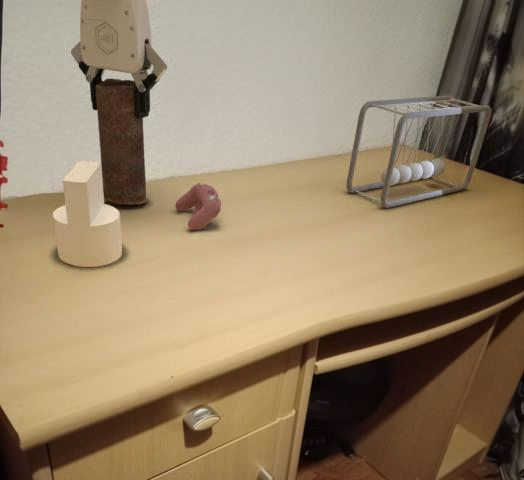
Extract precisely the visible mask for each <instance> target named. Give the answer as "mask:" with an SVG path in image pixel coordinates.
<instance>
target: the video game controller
mask: <svg viewBox="0 0 524 480" xmlns="http://www.w3.org/2000/svg"><path fill="white" fill-rule="evenodd" d="M174 207H175V209H176V211H177V212H187V211H189V210H190V209H192V208H193V210H192V212H193V215H192V216H191V217H190V218H189V220H188V223H187V227H188V229H189V230H191V231H197V230H200V229H203V228H205V227H206V226H207V225H209V223H210V222H212V221H213V219H216V217H218V215H219V214H220V213H221V211H222V200H221V199H219V194H218V191H217V190H216V188H215V187H213V186H212V185H209V184H207V183H201V182H197V184H194V185H193V186H192V187H191V188H190V189H189V190H187V192H186V193H184V194H183V195H182V196H180V197H179V198H178V199H177V200H176V202H175V206H174Z"/></svg>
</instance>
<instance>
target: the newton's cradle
mask: <svg viewBox="0 0 524 480" xmlns="http://www.w3.org/2000/svg"><path fill="white" fill-rule="evenodd" d="M456 102H457V103H460V104H463V106H461V105H456V104H455V103H456ZM440 103H441V104H440ZM429 104H430V105H429ZM433 104H434V105H437V106H440V107H441V108H438V107H435V106H433ZM444 104H447V106H445V105H444ZM416 105H419V106H416ZM421 105H422V106H424V107H425V106H426V107H430V109H426V108H422V107H421ZM402 106H403V107H402ZM404 106H407V108H406V107H404ZM409 106H410V107H414V108H418V109H419V110H413V109H409V108H410V107H409ZM454 106H455V107H454ZM391 107H395V108H394V109H392V108H391ZM397 107H398V108H401V109H404V110H407V111H399V110H397ZM371 108H377V109H381V110H384V111H387V112H391V113H394V119H393V120H394V122H393V130H395V131H392V132H393V133H392V146H391V151H390V155H389V160H388V164H387V167H386V168H384V169H383V170H382V172H381V175H380V180H381V181H378V182H373V183H368V184H363V185H358V186H353V181H354V175H355V170H356V165H357V158H358V154H359V148H360V144H361V138H362V132H363V128H364V122H365V118H366V117H365V116H366V114H367V111H368V110H369V109H371ZM481 112H485V114H484V117H483V121H482V124H481V127H480V131H479V134H478V138H477V140H476V143H475V147H474V150H473V154H472V157H471V160H470V164H469V166H468V169H467V174H466V176H465V180H464V182H463V183H462V184H460V185H457V184H455V183H452V182H450V181H447V180H444V179H442V178H439V177H440V176H442V175H443V174H444V173H445V171H446V163H445V161H444V160H443V159H442V157H443V154H444V152H445V150H446V147H447V146H448V143H449V141H450V139H451V136H452V135H453V132H454V129H455V127H456V125H457V122H458V121H459V118H460V115H461V114H462V115H463V114H471V113H481ZM396 115H401V117H400V118H399V120H398V122H397V124H396ZM453 115H458V116H457V119H456V120H455V123H454V125H453V128H452V129H451V133H450V134H449V137H448V139H447V141H446V143H445V146H444V142H445V138H446V136H447V132H448V128H449V125H450V122H451V117H452V116H453ZM443 116H445V117H444V120H443ZM491 116H492V108H491V106H490V105H487V104H486V105H485V104H484V105H479V104H476V103H472V102H467V101H464V100H461V99H456V98H454V97H452V95H441V96H440V95H437V96H424V97H423V96H421V97H409V98H407V97H406V98H396V99H395V98H394V99H393V98H392V99H379V100H378V99H377V100H368V101H366V102H365V103H364V104H363V105H362V106H361V108H360V110H359V113H358V118H357V123H356V124H357V125H356V130H355V134H354V139H353V145H352V151H351V156H350V162H349V166H348V172H347V178H346V185H345V186H346V189H347V191H348V192H349V193H351V194H355V193H356V194H359V195H362V196H363V197H366V198H368V199H370V200H373V201H375V202H376V203H380V205H381V206H382V207H383V208H385V209H389V208H393V207H397V206H402V205H406V204H410V203H414V202H419V201H424V200H427V199H431V198H435V197H439V196H443V195H447V194H452V193H456V192H461V191H463V190H465V189H467V187H468V186H469V184H470V183H471V180H472V177H473V174H474V172H475V168H476V165H477V161H478V158H479V155H480V152H481V149H482V146H483V142H484V139H485V136H486V133H487V129H488V126H489V123H490V120H491ZM431 117H435V119H434V122H433V124H432V127H431V119H432V118H431ZM438 117H440V124H439V134H438V138H437V140H436V141H435V145H434V147H433V149H432V151H431V154H430V155H429V158H428V147H429V139H430V136H431V132H432V131H433V128H434V126H435V124H436V121H437V119H438ZM421 118H422V119H423V118H424V119H423V121H422V124H421V127H420V129H419V126H420V119H421ZM426 118H429V123H428V132H427V139H426V141H425V144H424V146H423V148H422V150H421V153H420V155H419V157H418V160H417V161H416V158H417V157H416V156H417V148H418V147H417V146H418V145H417V144H418V138H419V136H420V133H421V131H422V128H423V126H424V123H425V121H426ZM414 119H417V131H416V132H417V133H416V139H415V141H414V143H413V146H412V148H411V150H410V154H409V155H408V157H407V160H406V163H405V155H403V157H402V164H400V165H397V161H398V159H399V157H400V154H401V151H402V149H403V154H406V153H405V151H406V144H405V143H406V141H407V140H406V139H407V137H408V135H409V132H410V129H411V126H412V125H413V122H414ZM408 120H411V122H410V124H409V127H408ZM442 120H443V124H442ZM404 125H405V135H404V139H403V142H402V144H401V147H400V142H401V138H402V132H403V130H404ZM430 128H431V129H430ZM436 146H437V147H436ZM443 146H444V149H443ZM399 147H400V150H399ZM414 147H415V150H414ZM425 148H426V151H425ZM435 149H436V150H435ZM413 150H414V159H413V160H414V161H413V162H412V163H409V164H408V162H409V160H410V157H411V155H412V153H413ZM398 151H399V152H398ZM424 151H425V160H422V161H420V159H421V157H422V154H423V152H424ZM434 151H435V153H434ZM433 153H434V158H433V159H432V160H431V157H432V155H433ZM427 158H428V159H427ZM419 161H420V162H419ZM396 165H397V166H396ZM429 178H431V179H434V180H436V181H440V182H442V183H445V184H447V185H450V186H451V187H448V188H443V189H438V190H435V191H434V190H433V191H430V192H425V193H420V194H417V195H412V196H408V197H404V198H399V199H395V200H391V201H387V198H388V196H389V195H388V194H389V191H390V187H392V186H395V185H398V184H399V185H400V184H405V183H410V182H417V181H419V180H426V179H429ZM379 188H382V190H381V195H380V199H378V198H375V197H373V196H371V195H369V194H367V193H364V191H370V190H375V189H379Z"/></svg>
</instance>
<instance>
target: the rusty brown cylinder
mask: <svg viewBox="0 0 524 480" xmlns="http://www.w3.org/2000/svg"><path fill="white" fill-rule="evenodd" d="M102 81H103V82H101V83H99V84H97V85H96V100H97V110H96V111H97V126H98V135H99V136H98V137H99V150H100V163H101V170H102V183H103V196H104V201H105V200H106V201H109V202H111V203H113V204H116V205H125V206H127V205H128V206H129V205H131V206H132V205H144V204H146V203H147V185H146V184H147V182H146V181H147V179H146V164H145V163H146V161H145V140H144V138H145V137H144V118H141V119H137V118H136V117H135V91H138V88H137V86H136V84H135V81H134V80H131V79H123V80H122V79H120V78H105V79H104V80H102Z"/></svg>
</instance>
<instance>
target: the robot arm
mask: <svg viewBox="0 0 524 480" xmlns="http://www.w3.org/2000/svg"><path fill="white" fill-rule="evenodd" d="M148 9H149V8H148V3H147V0H81V2H80V14H79V15H80V16H79V18H80V19H79V35H80V36H79V37H80V38H79V42H78V43H76V44H75V46H73V48H72V49H71V50H70V54H71V56H72V58H73V59H74V61H75V62H76V64H77V65H78V69H79V70H80V71H81V72H82V74H83V75H84V76H85V80H86V82H87V83H89V91H90V102H91V107H92V110H93V111H97V100H96V85H97V84H99V83H101V82H103V81H104V80H103V77H104V74H105V71H106V70H108V71H113V72H119V73H125V74H130V75H131V77H132V78H133V81H135V84H136V86H137V88H138V91H135V117H136V118H137V119H141V118H143V119H144V118H147V117H149V115H150V112H151V94H150V93H151V90H153V89H154V86H156V84H157V83H158V82H159V81H160V80H161V78H162V77H163V75H164V74H165V72H166V71H167V70H168V65H167V63H166V62H165V61H164V60H163V59H162V58H161V56H160V55H159V54H158V53H157V51H156V50H154V49H153V43H152V30H151V22H150V16H149V15H150V14H149V10H148ZM152 67H153V68H152ZM151 68H152V71H151V72H150V73H149V72H148V70H151Z"/></svg>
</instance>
